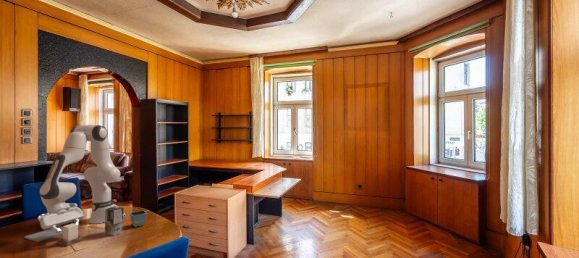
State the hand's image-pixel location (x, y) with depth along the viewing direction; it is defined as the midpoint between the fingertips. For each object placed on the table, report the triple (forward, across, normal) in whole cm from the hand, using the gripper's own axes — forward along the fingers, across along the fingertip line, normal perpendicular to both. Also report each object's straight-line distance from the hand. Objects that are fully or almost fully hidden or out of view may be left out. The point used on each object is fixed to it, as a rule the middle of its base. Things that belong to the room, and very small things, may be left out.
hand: (68, 229), depth 152 cm
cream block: (+7, 0, +4) cm, 8 cm away
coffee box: (+14, +19, -3) cm, 24 cm away
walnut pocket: (+7, 0, +4) cm, 8 cm away
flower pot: (+16, +34, -5) cm, 38 cm away
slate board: (-10, +2, +21) cm, 24 cm away
